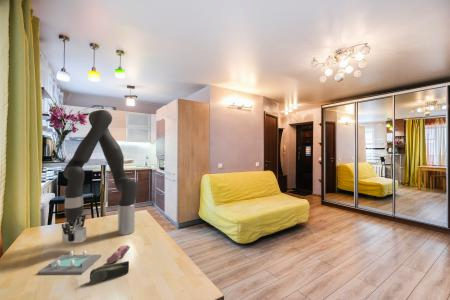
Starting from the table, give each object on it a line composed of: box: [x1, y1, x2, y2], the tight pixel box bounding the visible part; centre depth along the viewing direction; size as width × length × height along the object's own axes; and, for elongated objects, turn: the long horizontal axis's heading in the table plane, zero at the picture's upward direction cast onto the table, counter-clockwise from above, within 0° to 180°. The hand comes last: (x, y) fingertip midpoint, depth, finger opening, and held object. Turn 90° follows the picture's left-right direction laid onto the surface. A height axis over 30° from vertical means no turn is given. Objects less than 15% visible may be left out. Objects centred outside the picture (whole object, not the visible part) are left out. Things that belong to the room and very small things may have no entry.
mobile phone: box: [84, 260, 130, 286], centre depth 80 cm, size 5×3×15 cm
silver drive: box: [61, 226, 87, 244], centre depth 101 cm, size 4×9×6 cm, turn 91°
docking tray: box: [37, 250, 102, 275], centre depth 89 cm, size 13×18×4 cm
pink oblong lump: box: [106, 244, 131, 265], centre depth 94 cm, size 10×5×7 cm, turn 170°
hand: (74, 238), depth 101 cm, fingers closed on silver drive, 4 cm apart
